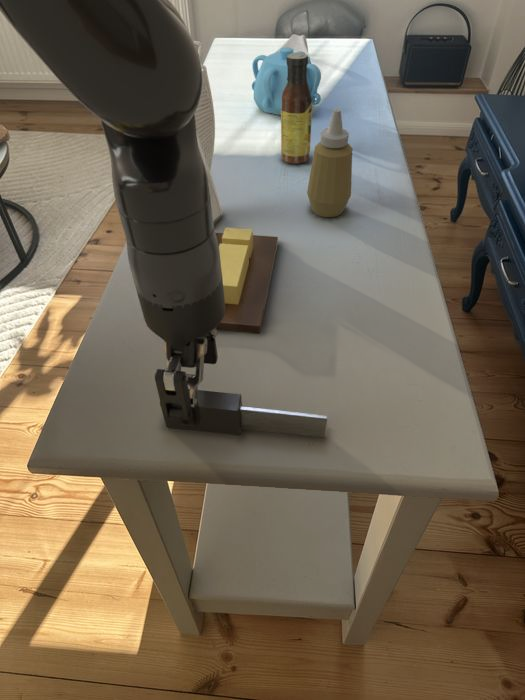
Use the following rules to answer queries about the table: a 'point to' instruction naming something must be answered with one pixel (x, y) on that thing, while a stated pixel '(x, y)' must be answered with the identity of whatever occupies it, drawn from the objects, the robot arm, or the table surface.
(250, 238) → the butter slice
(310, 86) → the decorative pot
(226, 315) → the board
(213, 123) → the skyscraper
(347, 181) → the squeeze bottle
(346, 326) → the table surface
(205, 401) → the knife
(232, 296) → the butter
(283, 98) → the sauce bottle
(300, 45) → the spoon rest
